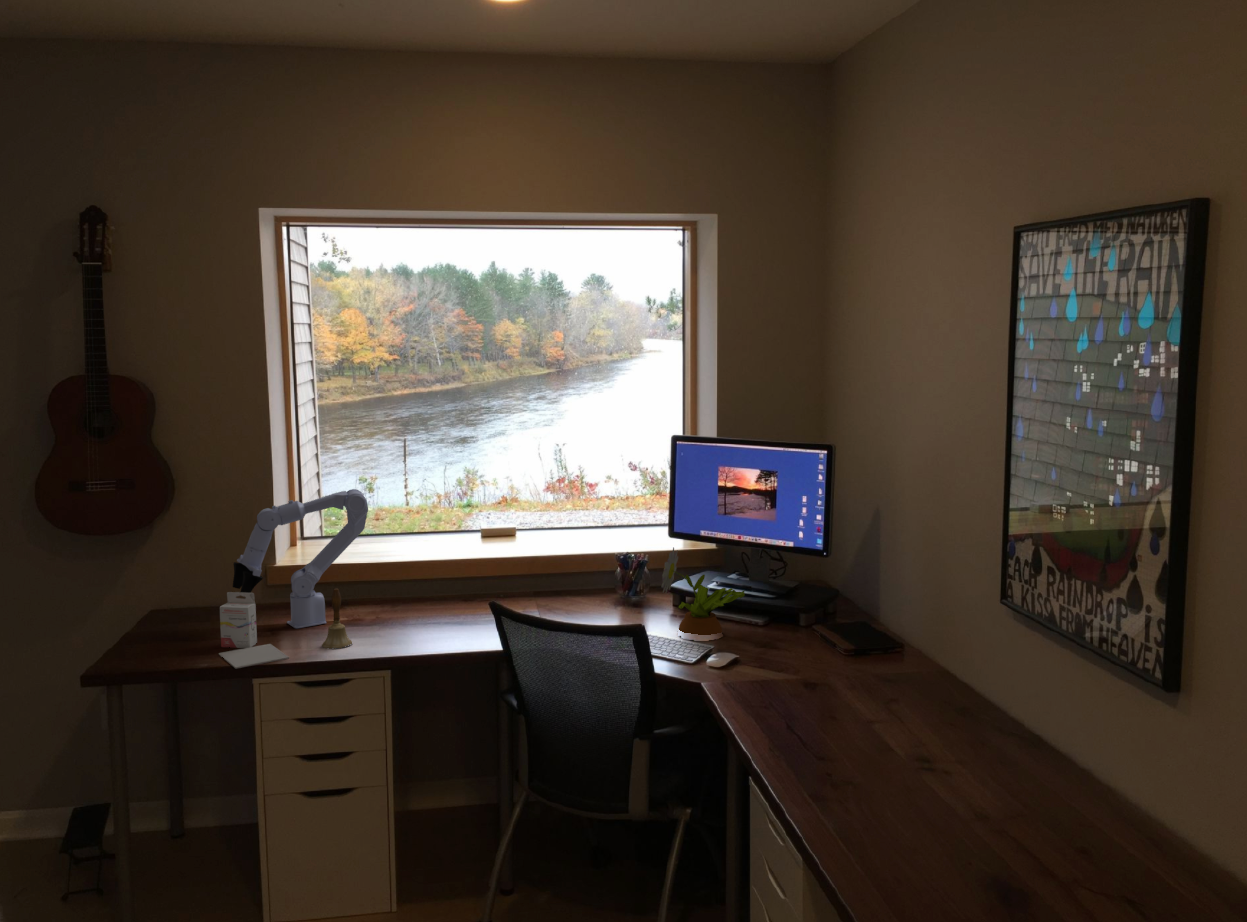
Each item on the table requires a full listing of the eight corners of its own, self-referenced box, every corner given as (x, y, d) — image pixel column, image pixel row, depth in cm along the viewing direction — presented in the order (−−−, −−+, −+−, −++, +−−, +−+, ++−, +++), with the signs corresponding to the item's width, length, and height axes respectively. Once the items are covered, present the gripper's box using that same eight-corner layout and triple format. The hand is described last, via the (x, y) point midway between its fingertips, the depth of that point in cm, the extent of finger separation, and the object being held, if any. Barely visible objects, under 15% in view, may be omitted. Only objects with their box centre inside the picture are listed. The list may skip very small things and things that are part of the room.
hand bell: (337, 638, 299) (335, 584, 297) (359, 643, 295) (356, 587, 293) (315, 646, 292) (313, 590, 290) (337, 651, 288) (334, 594, 286)
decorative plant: (675, 620, 316) (676, 538, 313) (754, 627, 308) (755, 543, 305) (647, 645, 291) (647, 557, 288) (733, 654, 283) (733, 563, 280)
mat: (270, 645, 293) (270, 643, 293) (289, 658, 281) (288, 657, 281) (218, 654, 285) (218, 653, 285) (235, 668, 273) (235, 667, 273)
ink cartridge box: (220, 647, 291) (217, 595, 289) (228, 642, 296) (226, 591, 294) (250, 648, 290) (247, 596, 288) (258, 643, 295) (255, 592, 293)
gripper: (236, 538, 310) (219, 581, 310) (251, 552, 299) (233, 596, 299) (258, 543, 315) (242, 586, 315) (274, 557, 303) (257, 601, 303)
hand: (239, 591), depth 307 cm, fingers open, 7 cm apart
